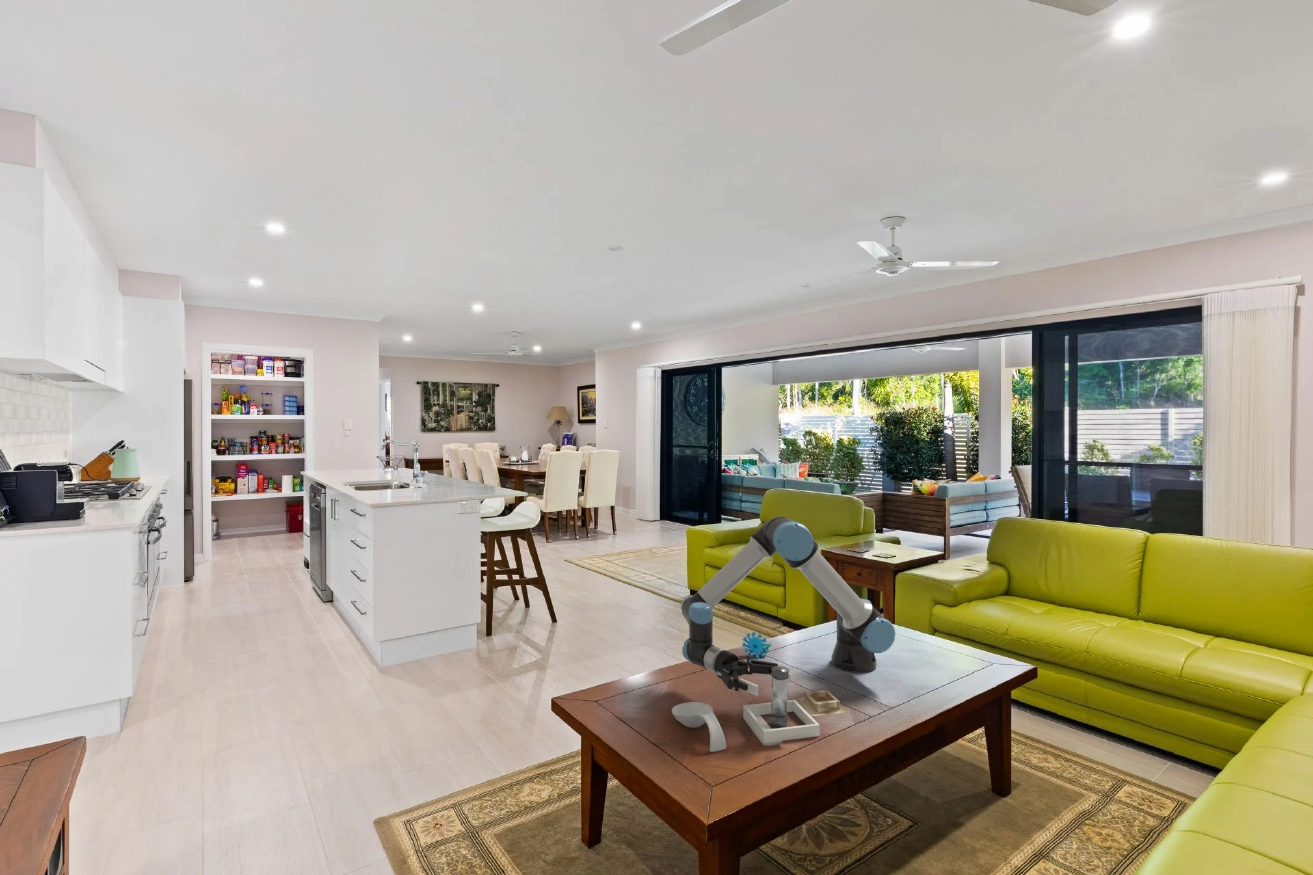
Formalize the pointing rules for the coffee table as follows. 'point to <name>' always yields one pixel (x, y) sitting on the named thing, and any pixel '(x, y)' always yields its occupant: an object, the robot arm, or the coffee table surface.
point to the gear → (756, 645)
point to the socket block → (821, 703)
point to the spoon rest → (701, 721)
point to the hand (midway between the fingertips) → (774, 684)
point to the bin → (778, 735)
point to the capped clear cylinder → (779, 696)
